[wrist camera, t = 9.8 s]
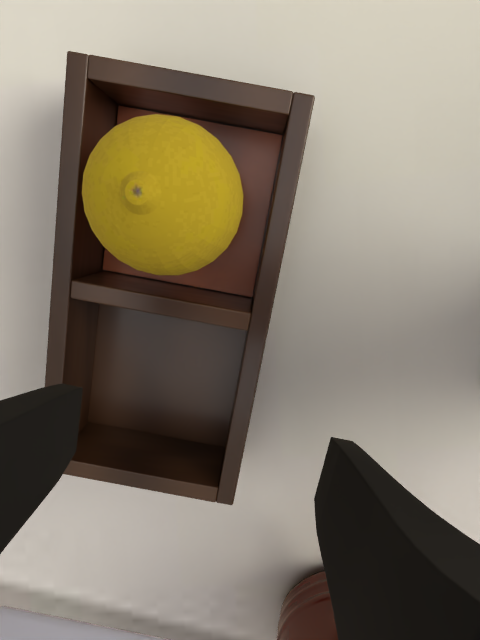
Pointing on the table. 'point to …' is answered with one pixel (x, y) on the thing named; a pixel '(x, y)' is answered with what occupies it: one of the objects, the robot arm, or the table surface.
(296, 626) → the mug
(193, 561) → the table surface
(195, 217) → the lemon
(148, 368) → the caddy
